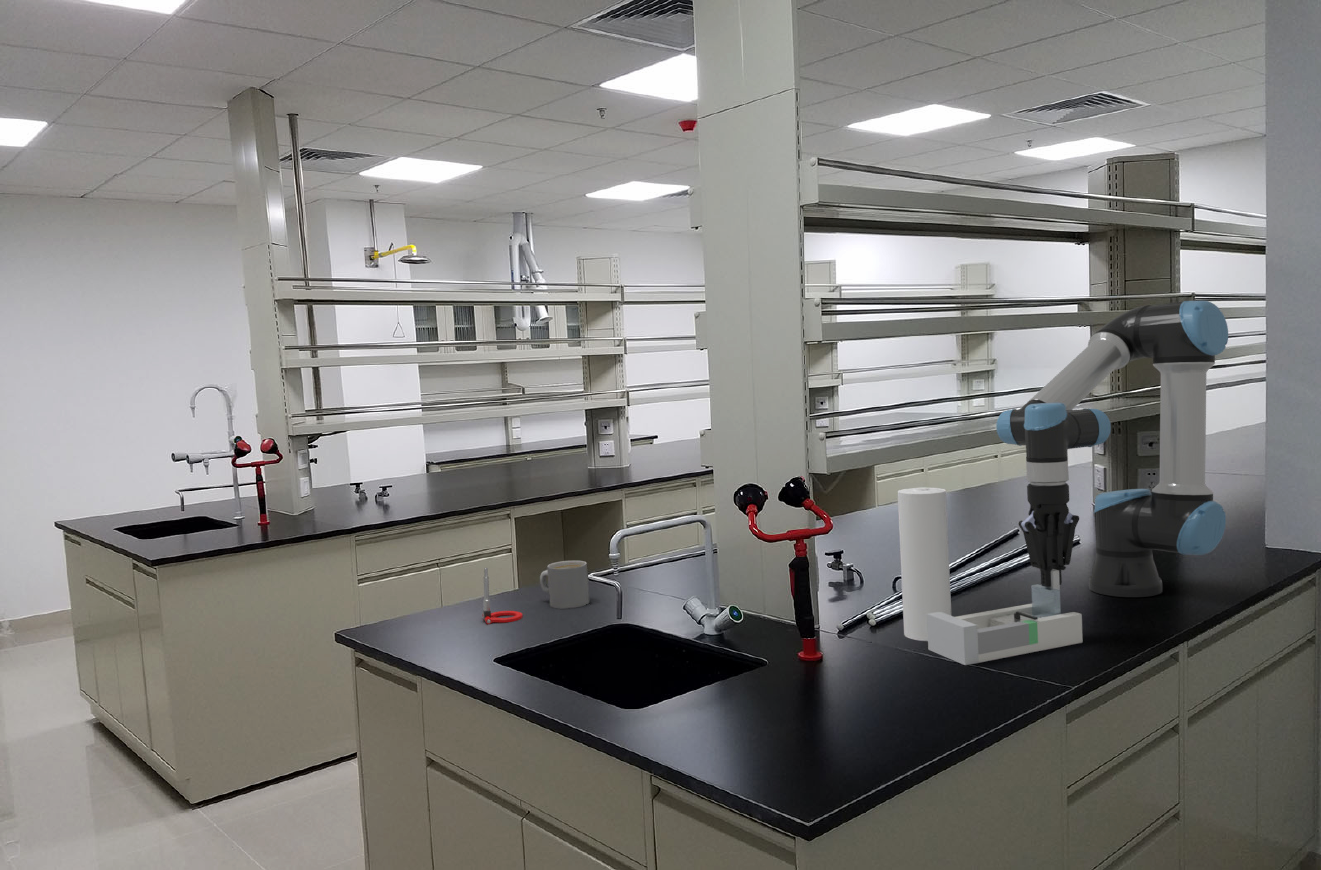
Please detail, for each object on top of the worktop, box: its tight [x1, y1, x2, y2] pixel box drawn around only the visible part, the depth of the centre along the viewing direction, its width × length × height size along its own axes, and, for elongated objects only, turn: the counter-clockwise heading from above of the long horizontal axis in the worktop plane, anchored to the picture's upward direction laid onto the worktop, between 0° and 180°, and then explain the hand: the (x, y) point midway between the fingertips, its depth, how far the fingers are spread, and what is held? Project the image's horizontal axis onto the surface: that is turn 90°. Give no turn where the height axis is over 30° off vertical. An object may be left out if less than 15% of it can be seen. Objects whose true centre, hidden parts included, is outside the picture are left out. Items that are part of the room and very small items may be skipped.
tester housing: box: [927, 603, 1083, 666], centre depth 177 cm, size 27×11×7 cm, turn 110°
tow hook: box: [482, 567, 523, 625], centre depth 222 cm, size 8×13×9 cm
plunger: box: [989, 583, 1062, 627], centre depth 177 cm, size 16×8×8 cm, turn 109°
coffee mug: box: [539, 560, 590, 610], centre depth 234 cm, size 13×10×10 cm
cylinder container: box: [897, 486, 952, 642], centre depth 187 cm, size 9×9×30 cm
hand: (1052, 602), depth 181 cm, fingers closed
